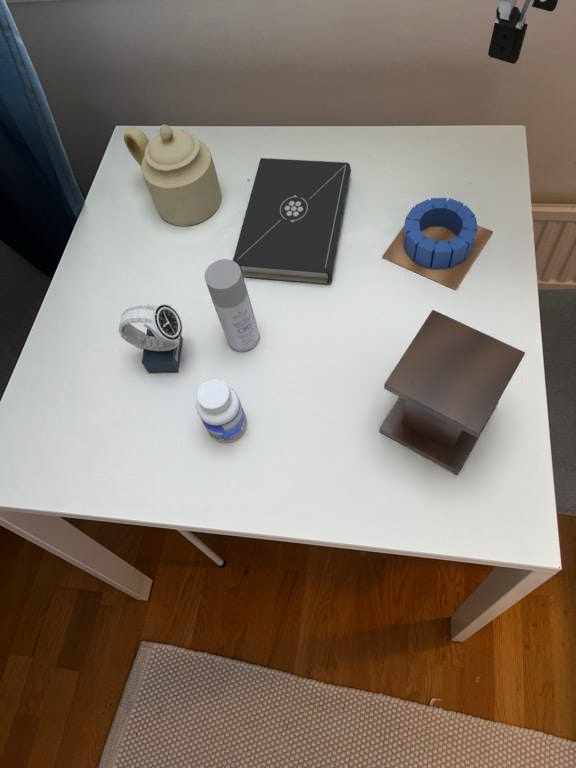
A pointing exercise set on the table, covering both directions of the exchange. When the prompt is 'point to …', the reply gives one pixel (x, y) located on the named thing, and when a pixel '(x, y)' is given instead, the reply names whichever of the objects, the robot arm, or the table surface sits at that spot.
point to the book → (293, 220)
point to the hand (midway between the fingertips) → (521, 32)
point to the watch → (155, 336)
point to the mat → (442, 276)
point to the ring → (439, 216)
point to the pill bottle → (220, 410)
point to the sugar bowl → (177, 174)
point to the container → (232, 304)
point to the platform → (447, 389)
